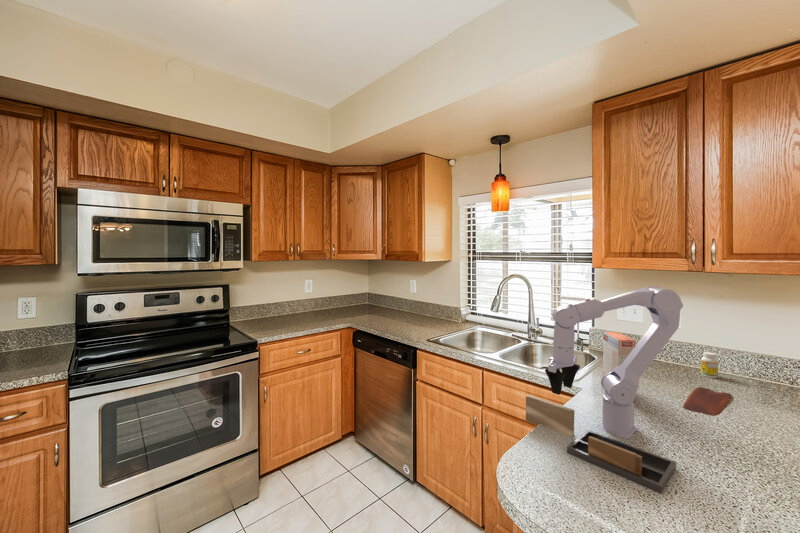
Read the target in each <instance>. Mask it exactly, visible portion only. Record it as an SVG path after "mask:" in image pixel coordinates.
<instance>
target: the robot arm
mask: <svg viewBox="0 0 800 533" xmlns="http://www.w3.org/2000/svg"><path fill="white" fill-rule="evenodd" d="M567 304H568V305H567V306H565V305H560V306H557V307H556V308H555V309H554V311H553V313H552V316H551V317H552V319H553V320H554V325H553V327H554V329H553V343H552V356H550V357H548V360H549V361H550V363H549V364H548V367H546V368H545V369H544V371H545V374H546V376H547V377H548V380H549V384H550V387H551V392H552V394H555V395H561V393H562V387H564V388H568V389H572V388H573V384H574V381H575V378H576V375H577V373H578V371H579V370H580V367H581V365H580V364H577V358H578V357H577V356H575V335H576V334H575V326H576V325H577V324H581V323H584V322H587V321H592V320H595V319H598V318H602V316H603V315H604V314H605V313H606V312H608V311H614V310H618V309H622V308H627V307H631V306H640V307H645V308H646V309H647V310H648V311H649V313H650V316H651V318H652V321H653V322H652V324H651V325H650V326H649V327H648V329H647V330H646V331H645V333H644V334H643V335H642V337H641V338H640V339H639V341H638V342H637V343H636V344H635V347H634V349H633V350H632V351H631V352H630V354H629V355H628V356H627V358H626V359H625V360H624V362H623V363H622V364H621V365H620V366H618V367H615V368H614V369H613V370H612V371H611V372H610V373H608V374H606V375H604V376H603V375H602V378H601V381H600V385H601V387H602V389H603V390H604V393H603V395H602V419H601V420H602V422H601V423H600V424H599V425H598V426H597V427H596V428H598V429H599V430H602V431H604V432H608V433H610V434H614V435H615V436H619V437H621V438H624V439H629V438H630V437H631V436H632V435H633V433H635V431H636V430H637V429H638V428H639V427H638V426H636V425H635V405H634V403H633V402H634V401H635V398H636V392H637V391H638V390H639V388H640V378H641V376H643V374H644V373H645V372H646V370H647V369H648V367H649V366H650V365H651V363H652V362H653V361H654V360H655V359H656V358H657V356H658V355H659V354H660V352H661V351H662V350H663V349H664V347H665V346H666V344H667V343H668V342H669V340H670V339H671V338H672V337H673V335H674V334H676V331H678V329H679V327H680V318H681V310H682V309H683V307H684V303H683V301H682V299H681V297H680V295H679V294H678V293H677V292H676V291H675V290H671V289H667V288H666V289H665V288H661V287H658V286H652V285H651V286H647V287H643V288H642V287H641V288H638V289H634V290H631V291H628V292H627V291H626V292H625V293H622V294H618V295H615V296H613V297H609V298H605V299H602V300H598V299H596V298H591V297H586V298H584V300H582V301H579V302H577V303H576V302H575V303H572V302H570V303H567ZM560 369H561V370H560Z"/></svg>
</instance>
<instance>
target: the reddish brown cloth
mask: <svg viewBox="0 0 800 533" xmlns="http://www.w3.org/2000/svg"><path fill="white" fill-rule="evenodd" d="M731 398H732V394H731V393H729V392H718V391H714V390H712V389H710V388H706V387H703V386H702V387H701V386H698V387H696V388H695V389H693V391H691V393H690V394H689V395H688V397H687V399H686V400H685V401H684V404H683V405H682V406H683V407H682V408H683V409H685V410H688V411H692V412H695V413H698V414H703V415H706V416H712V417H716V416H718V415H720V414H721V413H722V411H723V409H724V408H725V406H726V405H727V404H728V402H729V401H730V399H731Z"/></svg>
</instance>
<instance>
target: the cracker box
mask: <svg viewBox="0 0 800 533" xmlns="http://www.w3.org/2000/svg"><path fill="white" fill-rule="evenodd" d="M635 346H636V340H634V339H632V338H630V337H628V336H626V335H624V334H623V333H621V332H619V331H603V348H602V349H603V350H602V351H603V352H602V353H603V354H602V355H603V356H602V357H603V358H602V359H603V360H602V377H603V376H604V375H606V374H608V373H610V372H611V371H612V370H613V369H614V368H615V367H618V366H620V365H621V364H622V363H623V362H624V360H625V359H626V358H627V356H628V355H629V354H630V352H631V351H632V350H633V349H634V347H635Z"/></svg>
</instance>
